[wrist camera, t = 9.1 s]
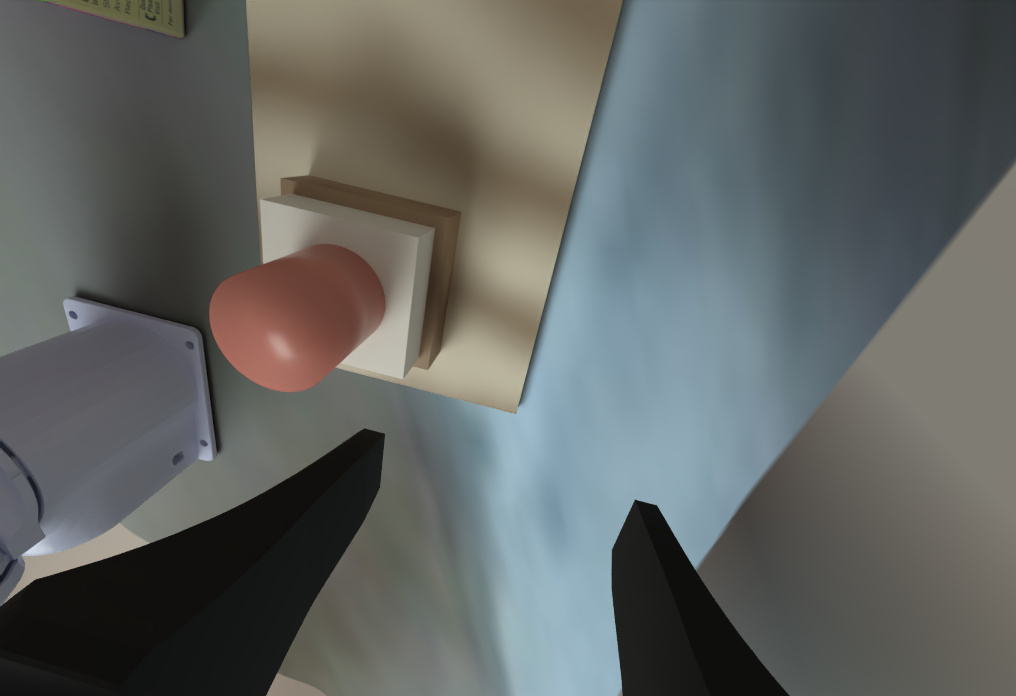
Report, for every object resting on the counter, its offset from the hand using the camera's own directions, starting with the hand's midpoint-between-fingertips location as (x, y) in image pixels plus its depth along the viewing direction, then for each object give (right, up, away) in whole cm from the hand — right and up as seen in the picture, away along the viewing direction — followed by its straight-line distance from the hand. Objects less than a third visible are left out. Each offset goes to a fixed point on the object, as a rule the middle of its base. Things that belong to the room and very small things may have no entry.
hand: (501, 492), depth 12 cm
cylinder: (-7, +6, +5) cm, 10 cm away
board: (-4, +13, +6) cm, 15 cm away
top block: (-6, +7, +6) cm, 11 cm away
